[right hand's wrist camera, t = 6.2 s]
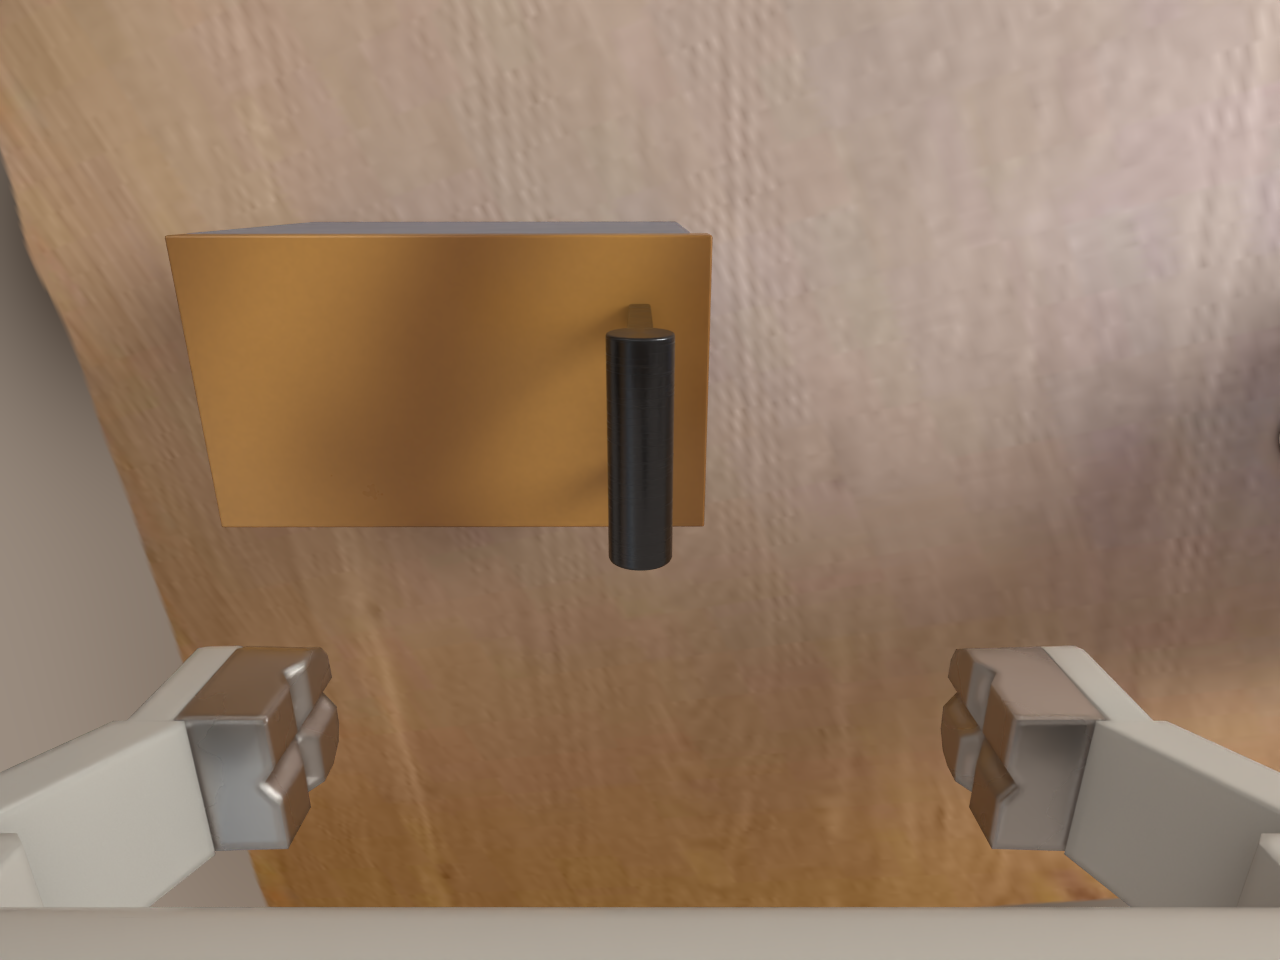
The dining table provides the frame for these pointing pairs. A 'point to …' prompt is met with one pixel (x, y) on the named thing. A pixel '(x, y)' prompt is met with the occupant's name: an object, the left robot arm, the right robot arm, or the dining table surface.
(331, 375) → the door
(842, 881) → the dining table surface
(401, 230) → the chest
